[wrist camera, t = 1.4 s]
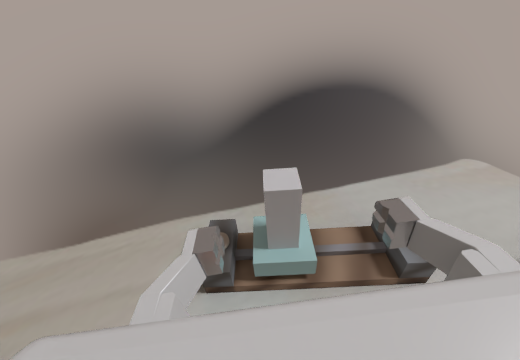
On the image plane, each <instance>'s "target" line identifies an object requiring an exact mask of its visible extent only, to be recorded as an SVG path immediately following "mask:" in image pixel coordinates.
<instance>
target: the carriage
mask: <svg viewBox="0 0 520 360" xmlns="http://www.w3.org/2000/svg"><path fill="white" fill-rule="evenodd" d="M263 184H264V199H265V200H264V201H265V214H266V216H258V217H254V227H253V267H254V274H255V277H256V276H277V275H298V274H315V273H316V266H317V257H316V253H315V249H314V245H313V241H312V237H311V233H310V229H309V225H308V221H307V217H306V214H301V200H302V187H301V183H300V179H299V175H298V171H297V168H283V169H269V170H268V169H267V170H263Z"/></svg>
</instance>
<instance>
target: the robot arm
mask: <svg viewBox="0 0 520 360" xmlns="http://www.w3.org/2000/svg"><path fill="white" fill-rule="evenodd" d="M374 207H375V209H376V211H375V212H374V213H373V217H372V219H373V224H374V227H375V229H376V230H377V232H379V233H381V234H383V236H382V239H383V241H384V242H385V244H386V245H387V247H388V248H389V249H395V248H403V247H407V248H408V249H409V250H411V251H412V252H414V253H415V254H417V255H418V256H420V257H421V258H423V259H424V260H426V261H427V262H429V263H430V264H432V265H433V266H435V267H436V268H438V269H439V270H441V271H442V272H444V273H445V274H447V277H446V278H445V280H444V281H441V282H434V283H427V284H420V285H413V286H406V287H398V288H391V289H384V290H377V291H370V292H363V293H356V294H349V295H341V296H334V297H327V298H320V299H313V300H306V301H299V302H292V303H284V304H277V305H270V306H263V307H256V308H249V309H241V310H234V311H227V312H220V313H213V314H206V315H198V316H190V315H189V313H188V312H187V310H186V308H187V307H188V305H189V304H190V302H191V301H192V299H193V297H194V296H195V294H196V293H197V291H198V290H199V288H200V287H201V285H202V284H203V282H204V280H205V279H206V276H211V275H216V274H222V273H223V266H224V261H223V258H222V257H223V255H224V254H225V245H224V239H223V237H222V236H221V235H220V229H219V226H212V227H204V228H198V229H190V230H189V231H188V232H187V236H186V240H185V243H184V247H183V250H182V254H181V256H178V257H177V258H176V259H175V260H174V261H173V262H172V263H171V264H170V265H169V267H168V268H167V269H166V270H165V271H164V272H163V273H162V274H161V275H160V276H159V277H158V278H157V279H156V280H155V281H154V282H153V283H152V284H151V285H150V286H149V287H148V289H147V290H146V291H145V292H144V293H143V294H142V295H141V296H140V299H139V301H138V304H137V306H136V309H135V311H134V314H133V317H132V319H131V322H130V324H129V325H126V326H119V327H112V328H105V329H98V330H91V331H83V332H76V333H69V334H61V335H54V336H47V337H42V338H39V339H36V340H34V341H32V342H31V343H29V344H28V345H27V346H25V347H24V348H23V349H21V350H20V351H19V352H17V353H16V354H15V355H14V356H12V357H11V358H10V359H9V360H520V263H519V262H518V261H516V260H515V259H514V258H513V257H512V256H511V255H509V254H508V253H507V252H506V251H505V250H503V249H502V248H501V247H500V246H499V245H497V244H495V243H493V242H490V241H488V240H485V239H483V238H481V237H478V236H476V235H474V234H471V233H469V232H466V231H464V230H462V229H459V228H457V227H455V226H452V225H450V224H447V223H445V222H443V221H440V220H438V219H435V218H432V219H431V218H430V217H429V216H428V215H427V214H426V213H425V212H424V211H423V210H422V209H421V208H420V207H419V206H418V205H417V204H416V203H415V202H414V201H413V200H412V199H411V198H410V197H408V196H406V197H400V198H394V199H388V200H382V201H377V202H376V203H375V206H374Z"/></svg>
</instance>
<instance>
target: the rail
mask: <svg viewBox="0 0 520 360" xmlns="http://www.w3.org/2000/svg"><path fill="white" fill-rule="evenodd" d="M212 226H219V229H220V235H221V236H222V237H223V239H224V245H225V254H224V255H223V257H222V258H223V261H224V266H223V273H222V274H216V275H211V276H206V279H205V280H204V282H203V286H204V288H205V290H206V292H207V293H218V292H239V291H261V290H282V289H304V288H325V287H346V286H368V285H389V284H411V283H426V282H427V280H428V279H429V278H430V276H431V275H432V274H433V272H434V271H435V270H436V267H435V266H433V265H432V264H430V263H429V262H427V261H426V260H424V259H423V258H421V257H420V256H418V255H417V254H415V253H414V252H412V251H411V250H409V249H408V248H407V247H403V248H395V249H389V248H388V247H387V245H386V244H385V242H384V241H383V239H382V236H383V234H381V233H379V232H377V230H376V229H375V227H374V224H373V221H372V224H371V226H362V227H344V228H326V229H310V233H311V237H312V241H313V245H314V249H315V253H316V257H317V266H316V273H315V274H298V275H277V276H256V277H255V274H254V267H253V233H238V230H237V225H236V220H235V219H227V220H210V224H209V227H212Z"/></svg>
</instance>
